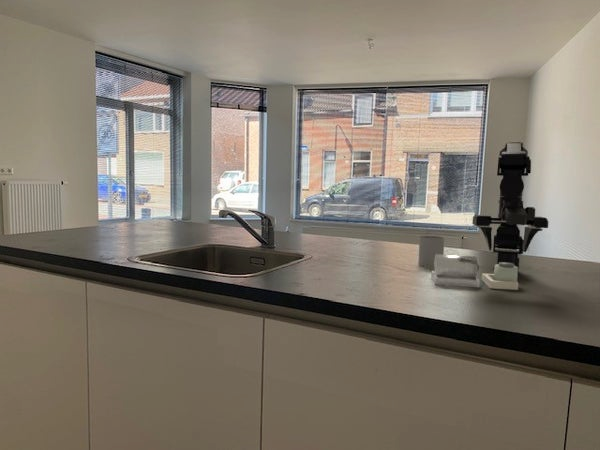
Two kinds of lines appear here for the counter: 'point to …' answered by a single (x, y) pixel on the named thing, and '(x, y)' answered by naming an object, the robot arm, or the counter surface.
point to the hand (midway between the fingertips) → (507, 251)
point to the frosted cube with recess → (505, 272)
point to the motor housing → (455, 271)
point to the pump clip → (498, 283)
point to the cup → (430, 249)
